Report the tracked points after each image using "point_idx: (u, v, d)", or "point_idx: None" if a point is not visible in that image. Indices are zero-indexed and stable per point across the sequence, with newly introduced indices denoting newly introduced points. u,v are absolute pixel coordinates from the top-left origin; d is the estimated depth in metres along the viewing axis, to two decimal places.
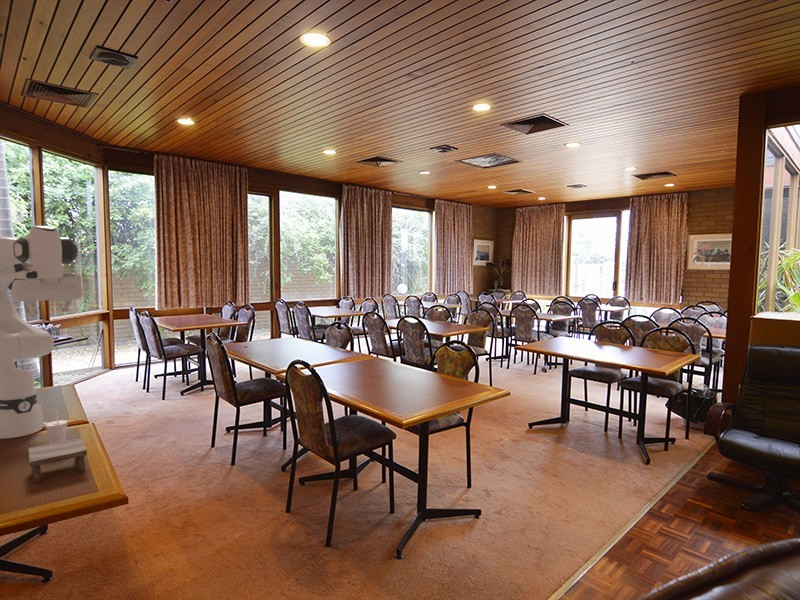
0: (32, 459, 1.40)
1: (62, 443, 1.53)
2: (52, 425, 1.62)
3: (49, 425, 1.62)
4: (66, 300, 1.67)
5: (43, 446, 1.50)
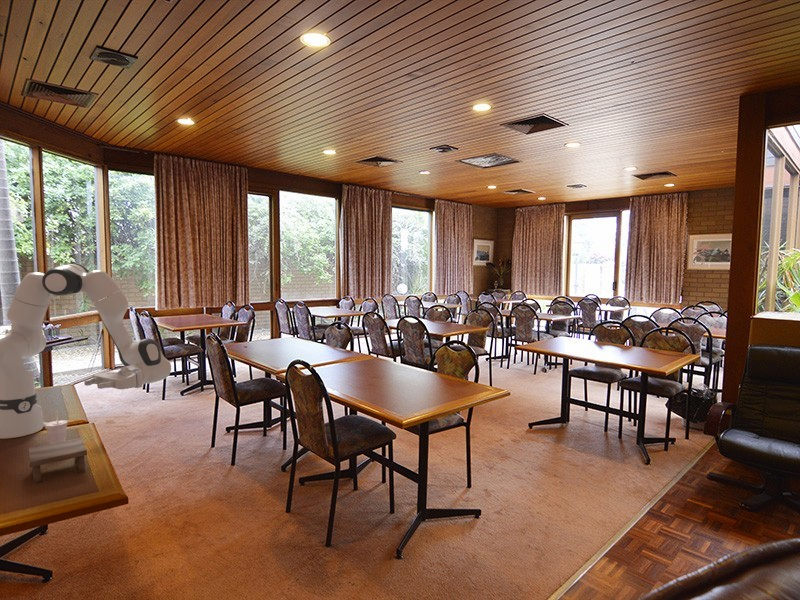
0: (32, 459, 1.40)
1: (62, 443, 1.53)
2: (52, 425, 1.62)
3: (49, 425, 1.62)
4: (96, 381, 1.80)
5: (43, 446, 1.50)
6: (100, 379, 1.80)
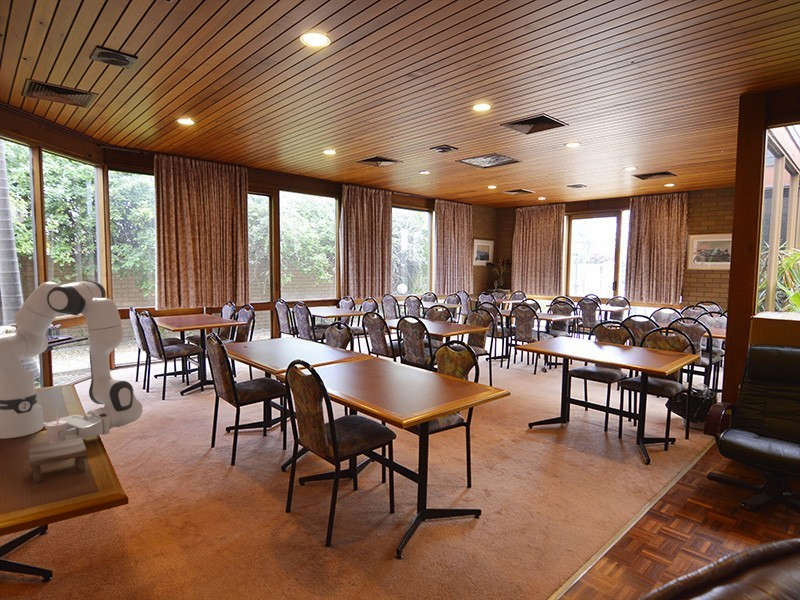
0: (32, 459, 1.40)
1: (62, 443, 1.53)
2: (52, 425, 1.62)
3: (49, 425, 1.62)
4: None
5: (43, 446, 1.50)
6: None
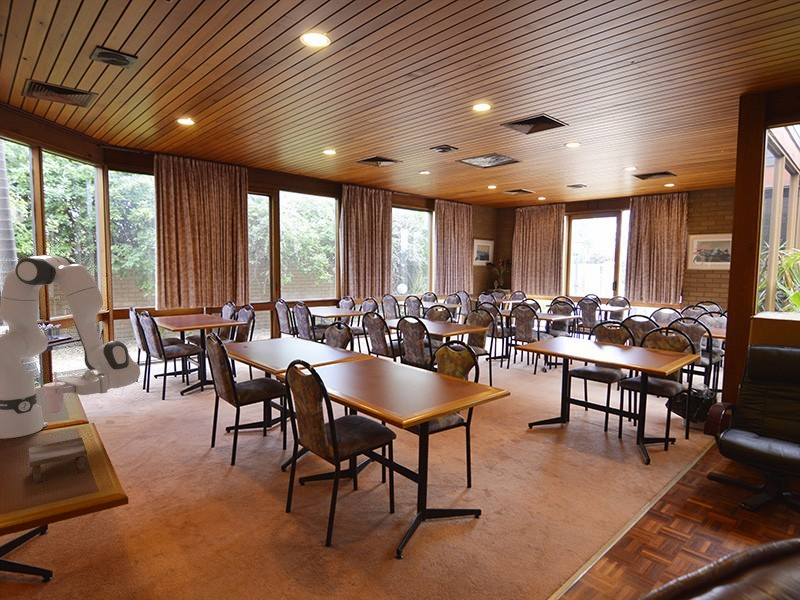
0: (32, 459, 1.40)
1: (62, 443, 1.53)
2: (50, 385, 1.61)
3: (47, 385, 1.61)
4: None
5: (43, 446, 1.50)
6: None
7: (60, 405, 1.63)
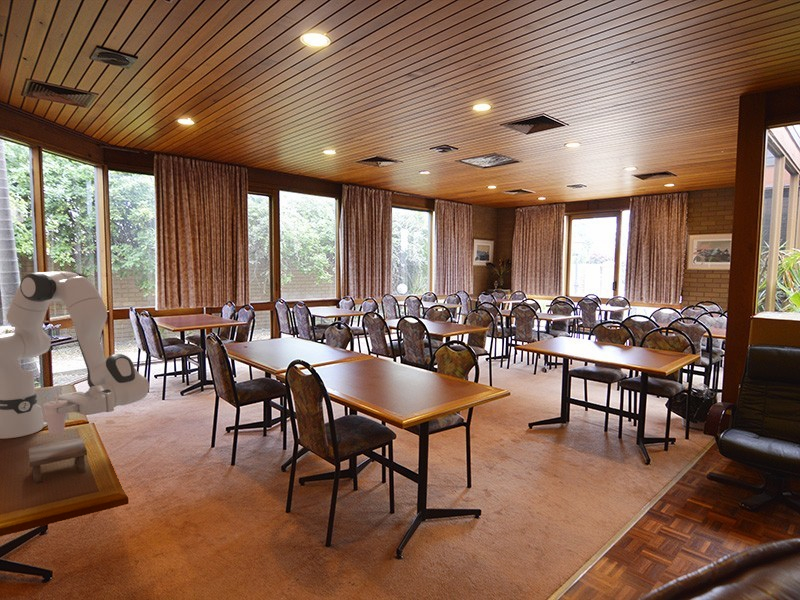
0: (32, 459, 1.40)
1: (62, 443, 1.53)
2: (51, 405, 1.45)
3: (47, 405, 1.44)
4: None
5: (43, 446, 1.50)
6: None
7: (62, 426, 1.47)
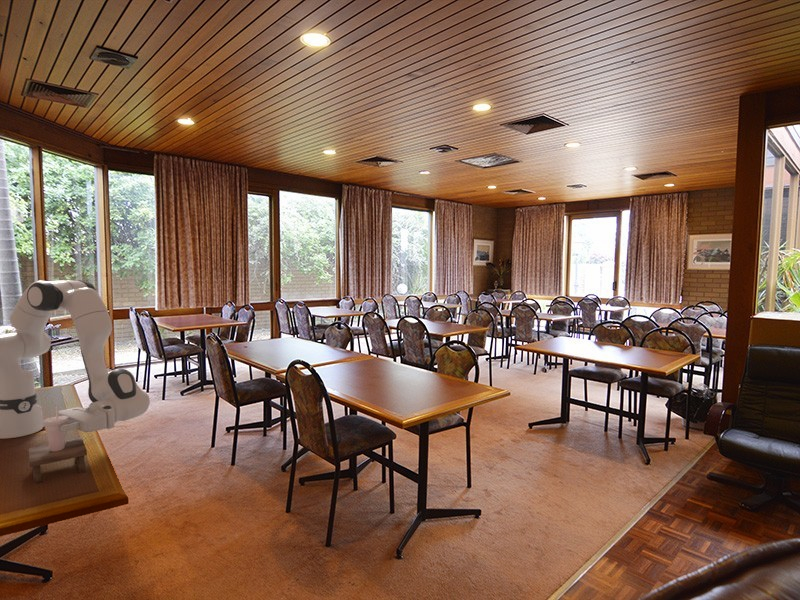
0: (32, 459, 1.40)
1: None
2: (51, 421, 1.45)
3: (48, 421, 1.45)
4: None
5: (43, 446, 1.50)
6: None
7: (62, 442, 1.47)
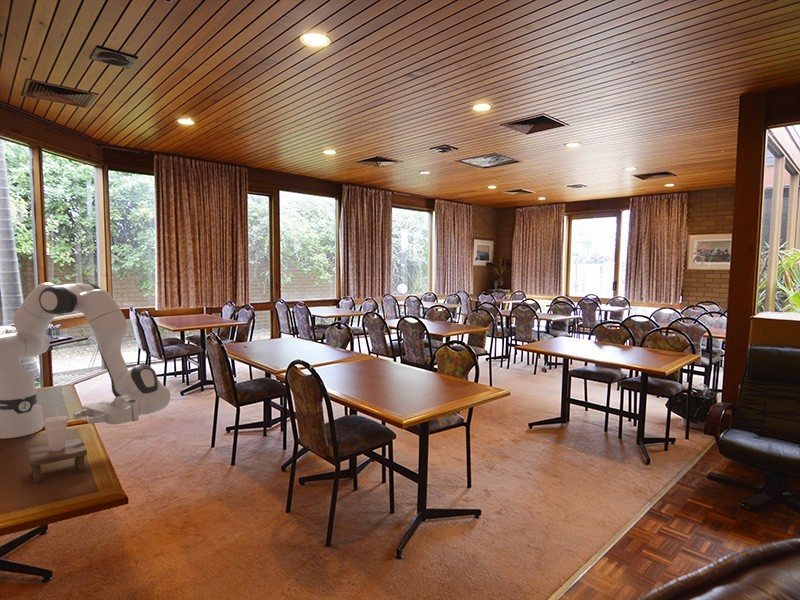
0: (32, 459, 1.40)
1: None
2: (51, 421, 1.45)
3: (48, 421, 1.45)
4: (86, 414, 1.60)
5: (43, 446, 1.50)
6: (91, 411, 1.60)
7: (62, 442, 1.47)
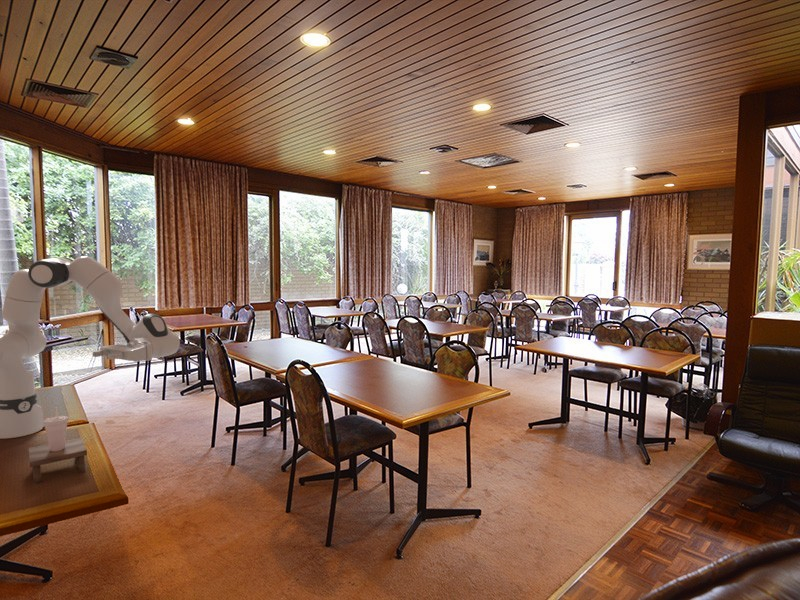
0: (32, 459, 1.40)
1: None
2: (51, 421, 1.45)
3: (48, 421, 1.45)
4: (104, 353, 1.75)
5: (43, 446, 1.50)
6: (108, 351, 1.76)
7: (62, 442, 1.47)
